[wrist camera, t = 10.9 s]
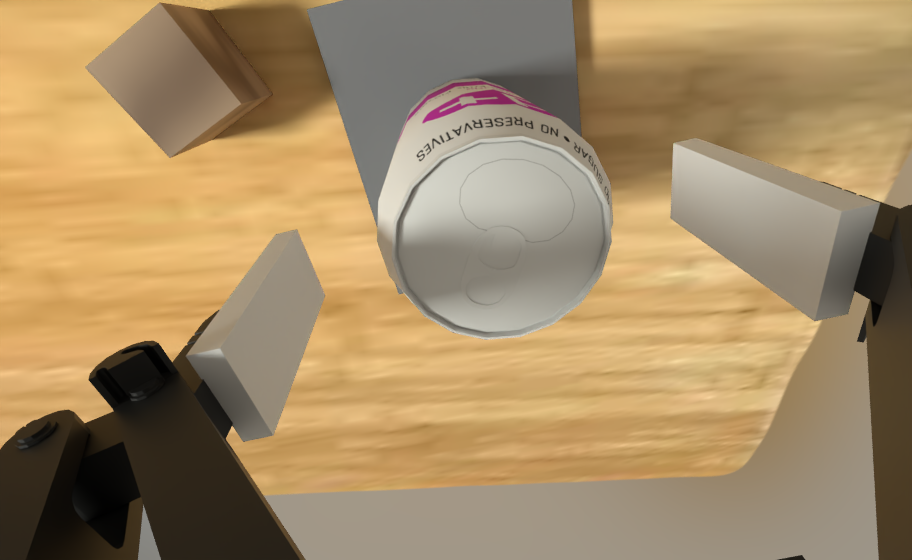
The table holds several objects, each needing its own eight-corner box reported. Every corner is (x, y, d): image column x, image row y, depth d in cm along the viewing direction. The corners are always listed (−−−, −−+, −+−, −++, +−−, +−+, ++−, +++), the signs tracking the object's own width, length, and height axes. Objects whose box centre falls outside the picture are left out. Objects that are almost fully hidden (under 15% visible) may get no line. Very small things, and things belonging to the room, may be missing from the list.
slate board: (312, 11, 24) (306, 9, 23) (561, -52, 23) (568, -57, 22) (399, 286, 33) (398, 294, 32) (584, 246, 32) (589, 253, 31)
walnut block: (145, 63, 25) (84, 67, 20) (209, 10, 24) (159, 2, 19) (212, 139, 27) (169, 158, 23) (273, 94, 26) (241, 103, 22)
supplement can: (417, 58, 24) (404, 73, 11) (552, 102, 26) (680, 161, 13) (387, 193, 28) (348, 326, 15) (506, 225, 29) (569, 371, 16)
